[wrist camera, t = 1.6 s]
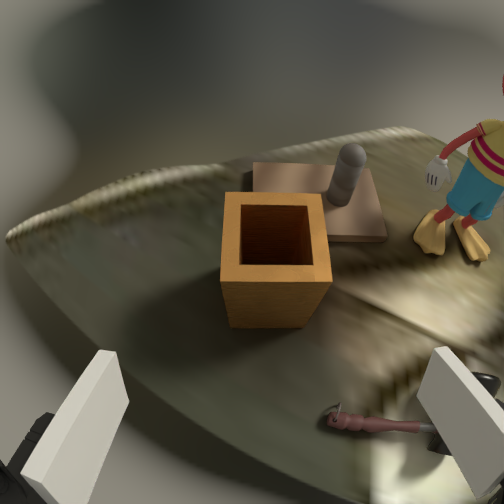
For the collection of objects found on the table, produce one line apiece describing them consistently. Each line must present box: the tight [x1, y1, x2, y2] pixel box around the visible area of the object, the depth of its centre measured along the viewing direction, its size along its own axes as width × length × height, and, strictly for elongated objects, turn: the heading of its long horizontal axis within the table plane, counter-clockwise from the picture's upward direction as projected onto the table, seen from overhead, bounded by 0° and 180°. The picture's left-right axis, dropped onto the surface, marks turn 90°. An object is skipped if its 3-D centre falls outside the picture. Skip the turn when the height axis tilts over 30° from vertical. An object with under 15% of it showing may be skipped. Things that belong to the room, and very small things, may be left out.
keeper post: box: [253, 143, 388, 243], centre depth 34 cm, size 16×11×10 cm
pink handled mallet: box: [327, 371, 501, 456], centre depth 24 cm, size 8×18×8 cm
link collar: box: [220, 192, 333, 328], centre depth 27 cm, size 7×7×12 cm
